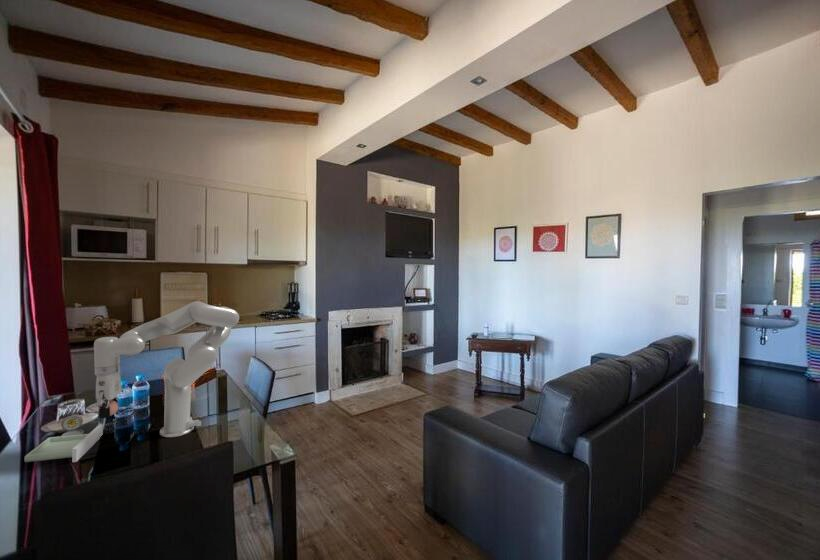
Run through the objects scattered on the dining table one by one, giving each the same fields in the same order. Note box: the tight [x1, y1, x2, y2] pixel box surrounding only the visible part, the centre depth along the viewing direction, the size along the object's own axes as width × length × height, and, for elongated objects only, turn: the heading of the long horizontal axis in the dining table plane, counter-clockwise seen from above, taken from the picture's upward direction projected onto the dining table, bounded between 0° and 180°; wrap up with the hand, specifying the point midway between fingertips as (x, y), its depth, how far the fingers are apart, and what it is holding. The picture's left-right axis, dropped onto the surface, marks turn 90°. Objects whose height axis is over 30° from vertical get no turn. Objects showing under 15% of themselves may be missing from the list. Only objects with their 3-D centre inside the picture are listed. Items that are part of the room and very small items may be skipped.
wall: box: [71, 423, 104, 463], centre depth 139 cm, size 1×20×5 cm, turn 20°
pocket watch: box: [61, 408, 84, 436], centre depth 148 cm, size 8×8×10 cm
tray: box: [24, 433, 89, 463], centre depth 137 cm, size 14×14×2 cm
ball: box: [97, 400, 119, 417], centre depth 139 cm, size 6×6×6 cm
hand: (108, 413), depth 139 cm, fingers closed on ball, 5 cm apart
